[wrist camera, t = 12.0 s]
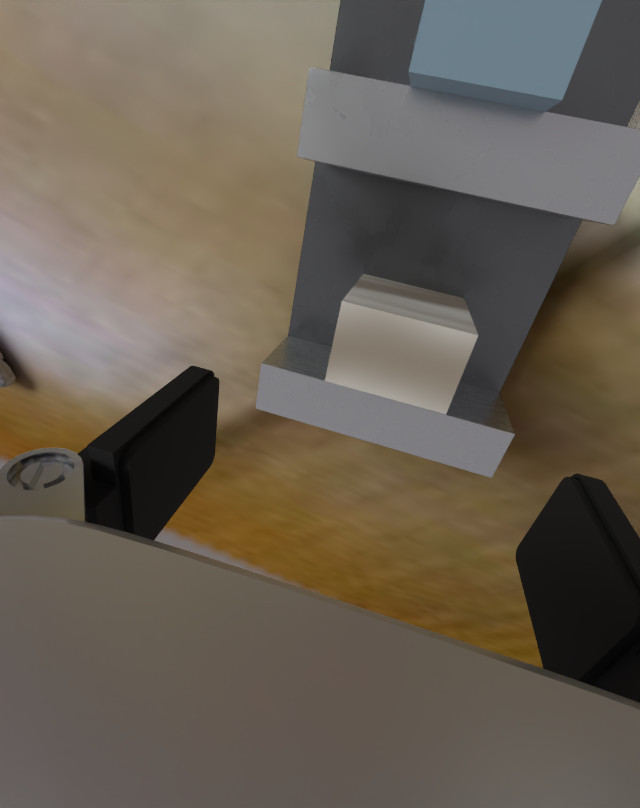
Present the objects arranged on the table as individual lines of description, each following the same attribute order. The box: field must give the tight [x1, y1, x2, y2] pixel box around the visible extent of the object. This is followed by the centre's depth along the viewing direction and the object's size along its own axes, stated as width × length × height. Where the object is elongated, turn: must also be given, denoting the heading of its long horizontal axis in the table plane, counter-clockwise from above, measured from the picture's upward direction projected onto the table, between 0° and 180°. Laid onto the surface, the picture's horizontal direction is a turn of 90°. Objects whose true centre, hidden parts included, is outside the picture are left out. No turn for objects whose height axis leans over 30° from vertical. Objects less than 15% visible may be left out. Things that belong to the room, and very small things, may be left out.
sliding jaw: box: [297, 0, 640, 225], centre depth 16 cm, size 6×13×7 cm, turn 79°
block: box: [325, 274, 478, 414], centre depth 21 cm, size 4×6×7 cm, turn 79°
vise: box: [256, 0, 640, 478], centre depth 20 cm, size 28×14×6 cm, turn 169°
